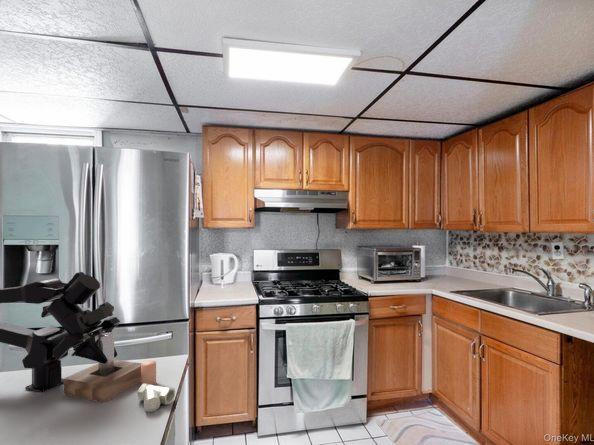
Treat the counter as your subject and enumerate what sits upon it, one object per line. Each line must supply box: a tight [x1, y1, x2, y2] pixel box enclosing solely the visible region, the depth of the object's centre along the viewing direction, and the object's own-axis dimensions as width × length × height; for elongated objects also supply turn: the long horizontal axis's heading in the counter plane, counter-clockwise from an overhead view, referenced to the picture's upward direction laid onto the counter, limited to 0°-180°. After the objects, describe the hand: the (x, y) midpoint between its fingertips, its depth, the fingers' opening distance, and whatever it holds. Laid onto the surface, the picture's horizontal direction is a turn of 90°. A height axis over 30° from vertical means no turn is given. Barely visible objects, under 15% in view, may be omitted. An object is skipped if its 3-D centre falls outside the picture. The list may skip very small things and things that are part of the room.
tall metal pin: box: [97, 332, 115, 377], centre depth 86 cm, size 4×4×13 cm
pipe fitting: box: [137, 384, 176, 413], centre depth 76 cm, size 8×4×7 cm
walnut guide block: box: [63, 359, 143, 403], centre depth 86 cm, size 13×13×4 cm
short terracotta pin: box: [140, 360, 157, 386], centre depth 86 cm, size 4×4×6 cm
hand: (111, 359), depth 86 cm, fingers closed on tall metal pin, 4 cm apart
